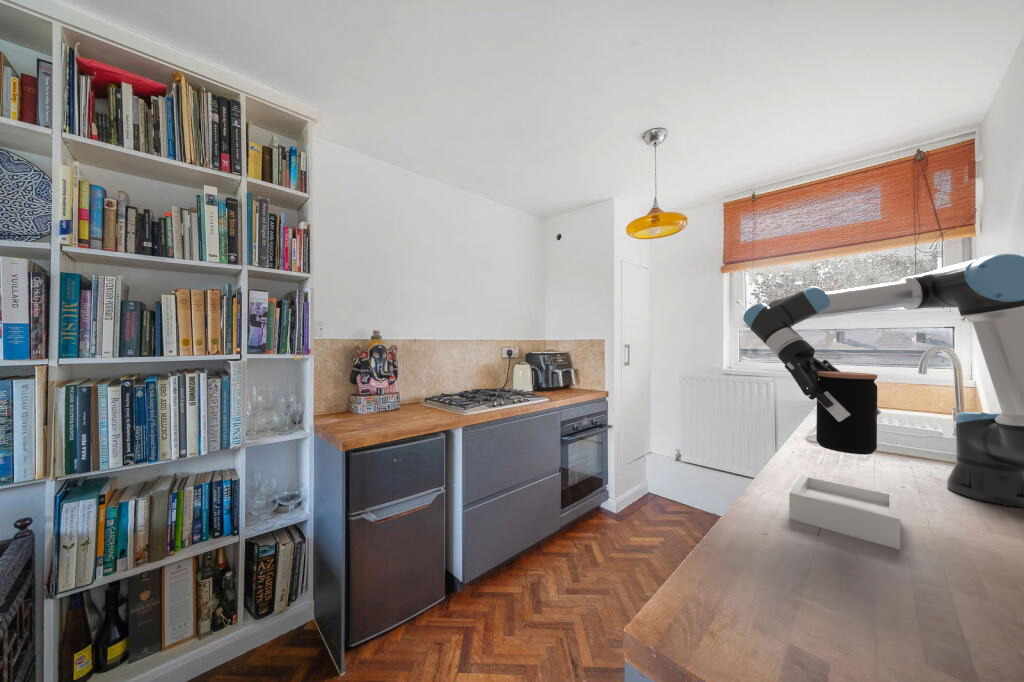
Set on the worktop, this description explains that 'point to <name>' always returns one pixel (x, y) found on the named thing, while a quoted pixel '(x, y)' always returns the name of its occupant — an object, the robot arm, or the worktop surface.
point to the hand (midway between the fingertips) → (860, 417)
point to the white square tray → (847, 509)
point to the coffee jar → (862, 405)
